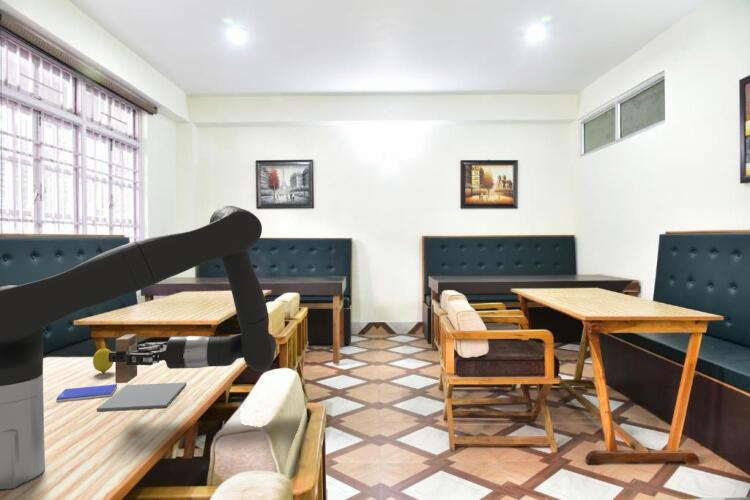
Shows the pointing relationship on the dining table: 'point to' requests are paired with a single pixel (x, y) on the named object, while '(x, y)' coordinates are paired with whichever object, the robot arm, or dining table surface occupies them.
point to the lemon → (102, 360)
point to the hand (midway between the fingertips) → (115, 353)
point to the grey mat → (143, 396)
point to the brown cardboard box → (121, 369)
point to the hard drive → (86, 392)
